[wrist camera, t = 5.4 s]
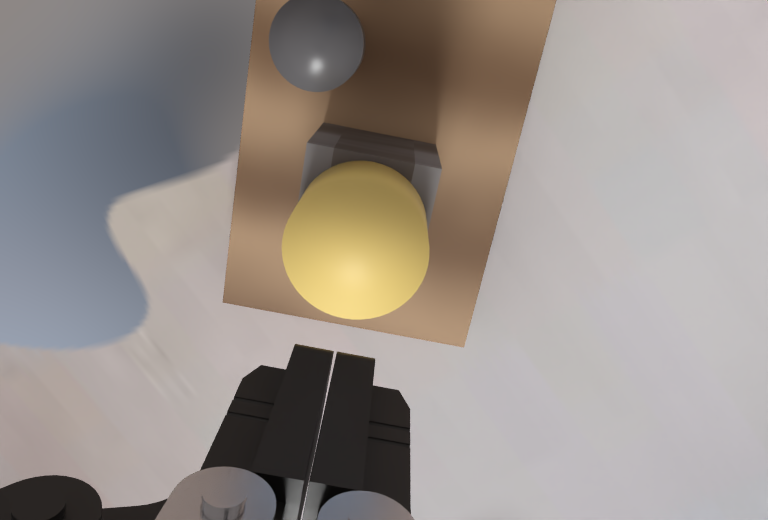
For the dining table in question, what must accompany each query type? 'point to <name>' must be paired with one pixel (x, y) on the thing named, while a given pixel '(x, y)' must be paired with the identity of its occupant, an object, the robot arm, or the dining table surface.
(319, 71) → the pot post
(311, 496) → the robot arm
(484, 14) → the mount
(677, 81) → the dining table surface
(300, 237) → the knob
